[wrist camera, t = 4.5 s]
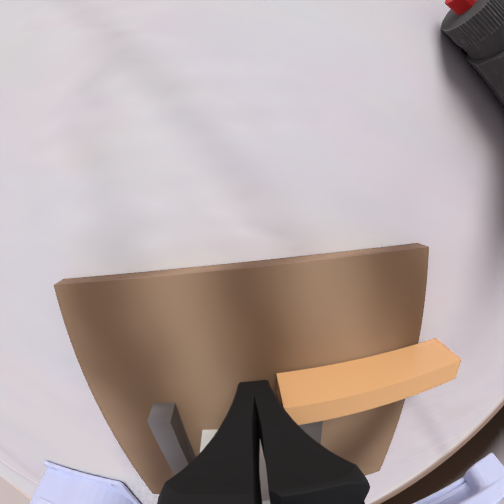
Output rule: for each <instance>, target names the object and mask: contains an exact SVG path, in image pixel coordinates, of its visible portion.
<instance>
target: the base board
mask: <svg viewBox="0 0 504 504" xmlns="http://www.w3.org/2000/svg"><path fill="white" fill-rule="evenodd" d="M428 254H429V247H427V246H425V245H422V244H419V243H415V244H406V245H397V246H389V247H380V248H371V249H362V250H354V251H345V252H336V253H326V254H317V255H308V256H299V257H289V258H280V259H270V260H261V261H251V262H241V263H231V264H221V265H211V266H201V267H191V268H181V269H170V270H160V271H149V272H138V273H127V274H116V275H105V276H94V277H82V278H71V279H63V280H62V281H60V282H58V283H56V284H55V285H54V288H55V292H56V296H57V299H58V303H59V306H60V310H61V313H62V316H63V320H64V323H65V326H66V329H67V332H68V335H69V338H70V341H71V343H72V346H73V349H74V351H75V354H76V357H77V359H78V362H79V364H80V367H81V369H82V372H83V374H84V376H85V379H86V381H87V383H88V385H89V388H90V390H91V392H92V394H93V396H94V398H95V400H96V402H97V404H98V406H99V408H100V410H101V412H102V414H103V416H104V418H105V420H106V422H107V424H108V425H109V427H110V429H111V431H112V433H113V434H114V436H115V438H116V439H117V441H118V443H119V445H120V446H121V448H122V449H123V451H124V453H125V454H126V456H127V457H128V459H129V460H130V462H131V464H132V465H133V467H134V468H135V469H136V471H137V472H138V474H139V475H140V477H141V478H142V479H143V481H144V482H145V484H146V485H147V486H148V488H149V489H150V490H151V492H152V493H153V494H160V493H161V490H162V488H163V485H164V483H165V482H166V481H167V480H169V479H170V478H172V477H173V476H174V475H176V474H177V473H179V472H180V471H181V470H182V469H184V468H185V467H186V466H187V465H188V464H189V463H190V462H191V461H192V460H193V459H195V458H196V457H197V456H198V455H199V453H200V446H201V438H202V430H213V429H219V427H220V426H221V424H222V422H223V420H224V419H225V417H226V415H227V413H228V411H229V409H230V407H231V404H232V402H233V400H234V397H235V394H236V391H237V387H238V384H239V383H240V382H248V381H258V380H268V381H269V384H270V386H271V388H272V390H273V392H274V394H275V396H276V397H277V399H278V401H279V396H278V390H277V374H276V373H283V372H290V371H297V370H303V369H310V368H316V367H321V366H327V365H332V364H337V363H342V362H347V361H352V360H357V359H361V358H366V357H370V356H374V355H378V354H382V353H386V352H390V351H394V350H397V349H401V348H405V347H408V346H412V345H415V344H418V341H419V335H420V330H421V323H422V317H423V309H424V301H425V293H426V283H427V270H428ZM404 401H405V399H402V400H399V401H396V402H393V403H390V404H386V405H383V406H380V407H376V408H373V409H369V410H366V411H362V412H358V413H354V414H350V415H346V416H342V417H338V418H333V419H329V420H324V421H319V422H313V423H308V424H302V425H299V426H300V427H301V428H302V429H303V430H304V431H305V432H306V433H307V434H308V435H309V436H310V437H312V438H313V439H314V440H315V441H317V442H318V443H319V444H321V445H322V446H324V447H325V448H327V449H328V450H329V451H331V452H333V453H334V454H336V455H338V456H340V457H342V458H343V459H345V460H347V461H350V462H352V463H354V464H356V465H357V466H358V467H359V469H360V470H361V471H362V473H363V474H364V476H365V475H368V474H371V473H374V472H377V471H380V468H381V466H382V464H383V461H384V459H385V456H386V454H387V451H388V449H389V446H390V443H391V441H392V438H393V435H394V432H395V429H396V426H397V423H398V420H399V417H400V414H401V411H402V408H403V404H404ZM279 402H280V401H279Z"/></svg>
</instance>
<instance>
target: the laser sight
mask: <svg viewBox="0 0 504 504" xmlns="http://www.w3.org/2000/svg"><path fill="white" fill-rule="evenodd" d="M445 4H446V5H447V6H448V7H449V8H451V9H450V11H449V12H448V13H447V15H446V16H445V18H444V20H443V22H442V25H441V30H442V31H443V32H444V33H445V34H447V35H448V36H449V37H450V38H451V39H452V40H453V41H454V42H455V43H456V44H457V45H458V46H460V47H461V48H462V49H463V50H464V51H465V52H466V53H467V55H466V58H465V59H466V60H467V62H468V63H469V64H470V65H471V66H472V67H473V68H474V69H475V71H476V72H477V73H478V74H479V75H480V77H481V78H482V79H483V80H484V81H485V83H486V84H487V85H488V86H489V88H490V89H491V90H492V92H493V93H494V94H495V96H496V97H497V98H498V100H499V101H500V103H501V104H502V105H503V107H504V0H446V1H445Z"/></svg>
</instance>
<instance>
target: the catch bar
mask: <svg viewBox="0 0 504 504" xmlns="http://www.w3.org/2000/svg"><path fill="white" fill-rule="evenodd" d="M460 362H461V359H460V358H459V357H458V356H457V355H456V354H454V353H453V352H452V351H451V350H450V349H448V348H447V347H446V346H445V345H444V344H442V343H441V342H440V341H439V340H438V339H436V338H434V339H431V340H428V341H425V342H422V343H418V344H415V345H412V346H408V347H405V348H401V349H397V350H394V351H390V352H386V353H382V354H378V355H374V356H370V357H366V358H361V359H357V360H352V361H347V362H342V363H337V364H332V365H327V366H321V367H316V368H310V369H303V370H297V371H290V372H283V373H276V374H277V390H278V396H279V401H280V403H281V405H282V406H283V408H284V409H285V410H286V412H287V413H288V414H289V415H290V417H291V418H292V419H293V420H294V421H295V422H296V423H297V424H298V425H302V424H308V423H313V422H319V421H324V420H329V419H333V418H338V417H342V416H346V415H350V414H354V413H358V412H362V411H366V410H369V409H373V408H376V407H380V406H383V405H386V404H390V403H393V402H396V401H399V400H402V399H405V398H408V397H410V396H413V395H416V394H419V393H421V392H424V391H427V390H429V389H432V388H434V387H437V386H439V385H441V384H444V383H446V382H448V381H451V380H453V379H455V378H456V375H457V372H458V369H459V366H460Z"/></svg>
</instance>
